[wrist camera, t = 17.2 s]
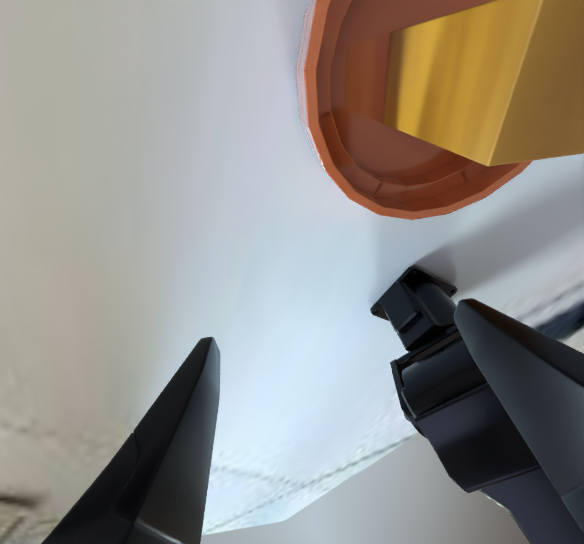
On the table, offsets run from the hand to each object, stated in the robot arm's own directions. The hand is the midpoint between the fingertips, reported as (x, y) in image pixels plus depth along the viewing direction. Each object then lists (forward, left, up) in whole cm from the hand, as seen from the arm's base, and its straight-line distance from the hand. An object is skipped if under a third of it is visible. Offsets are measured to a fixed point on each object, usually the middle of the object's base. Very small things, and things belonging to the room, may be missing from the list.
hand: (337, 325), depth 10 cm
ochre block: (-3, -10, -12) cm, 16 cm away
